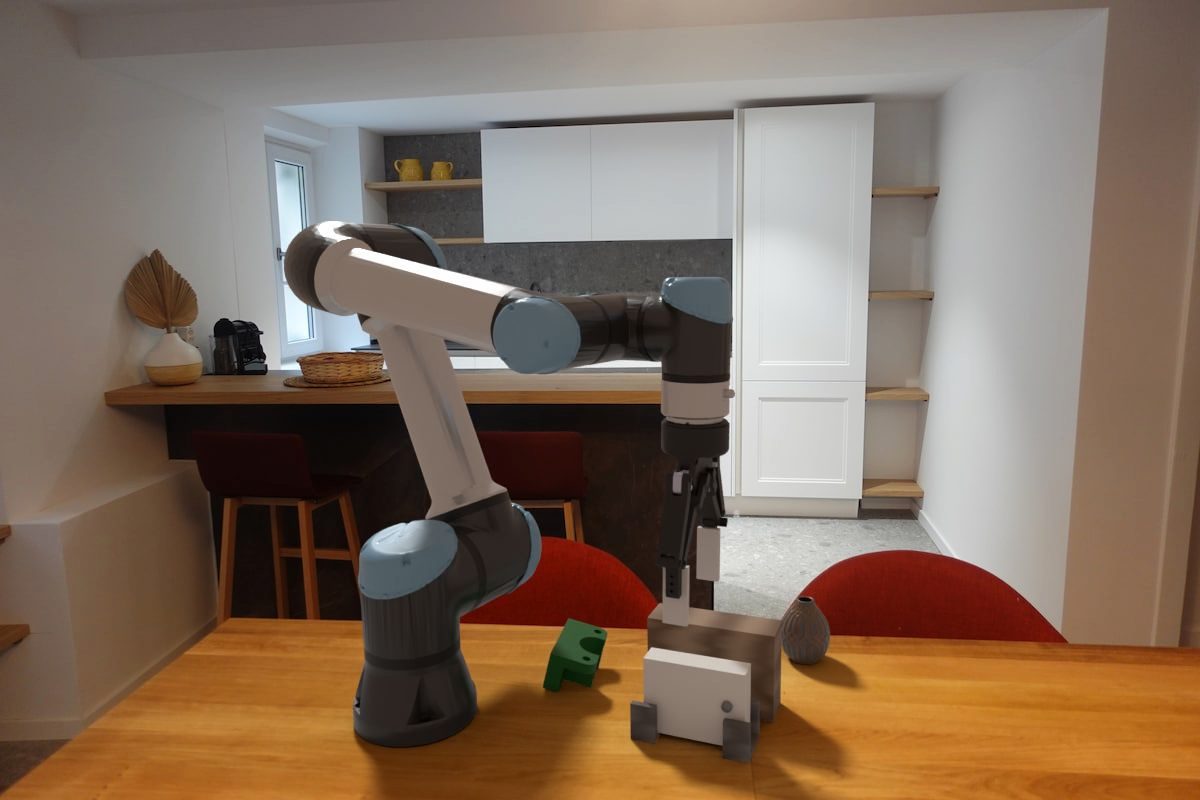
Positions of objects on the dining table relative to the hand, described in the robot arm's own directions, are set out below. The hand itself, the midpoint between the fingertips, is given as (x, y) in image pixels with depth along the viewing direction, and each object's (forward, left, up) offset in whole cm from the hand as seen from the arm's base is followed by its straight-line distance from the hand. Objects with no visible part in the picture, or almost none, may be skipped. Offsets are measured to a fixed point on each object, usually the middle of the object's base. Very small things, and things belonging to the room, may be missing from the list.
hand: (692, 600), depth 93 cm
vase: (+9, +25, -17) cm, 32 cm away
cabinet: (0, +4, -17) cm, 17 cm away
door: (0, 0, -16) cm, 16 cm away
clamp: (-19, +9, -17) cm, 27 cm away
